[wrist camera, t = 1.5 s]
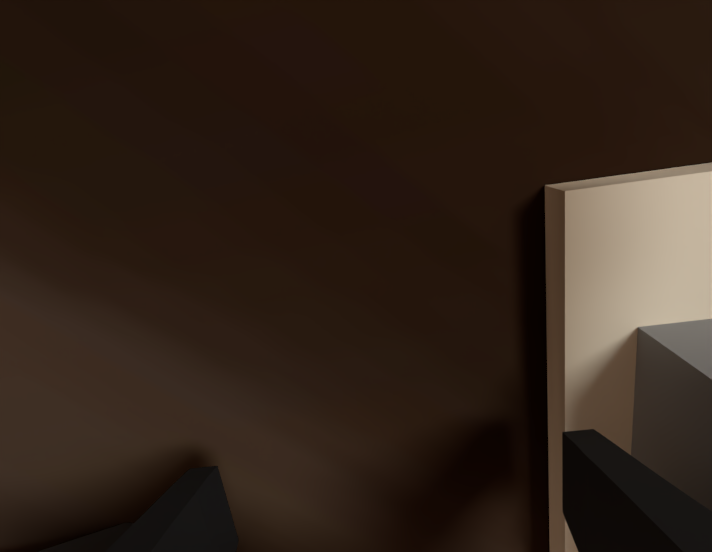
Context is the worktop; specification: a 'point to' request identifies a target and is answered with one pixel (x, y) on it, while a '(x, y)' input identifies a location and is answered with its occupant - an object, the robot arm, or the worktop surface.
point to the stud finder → (675, 405)
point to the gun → (92, 541)
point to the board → (616, 296)
